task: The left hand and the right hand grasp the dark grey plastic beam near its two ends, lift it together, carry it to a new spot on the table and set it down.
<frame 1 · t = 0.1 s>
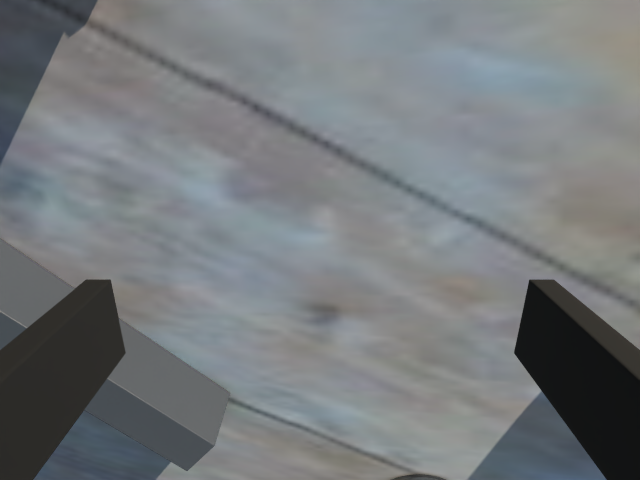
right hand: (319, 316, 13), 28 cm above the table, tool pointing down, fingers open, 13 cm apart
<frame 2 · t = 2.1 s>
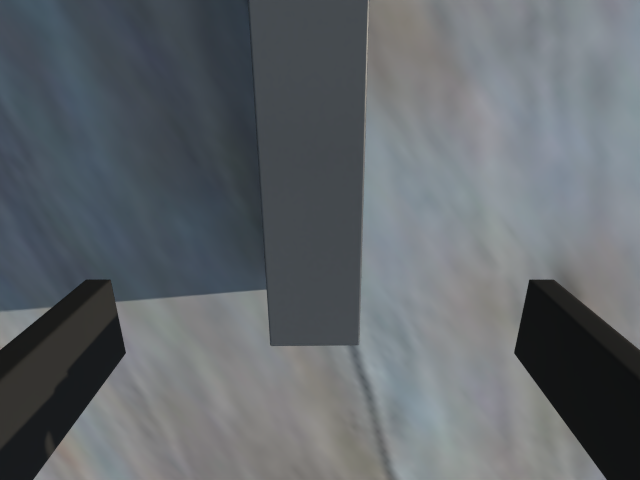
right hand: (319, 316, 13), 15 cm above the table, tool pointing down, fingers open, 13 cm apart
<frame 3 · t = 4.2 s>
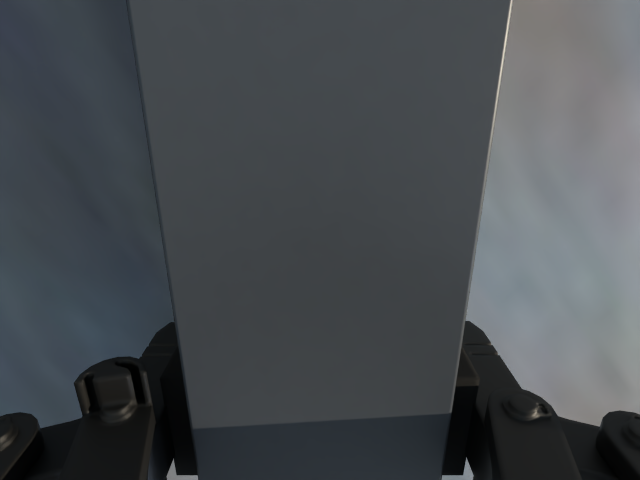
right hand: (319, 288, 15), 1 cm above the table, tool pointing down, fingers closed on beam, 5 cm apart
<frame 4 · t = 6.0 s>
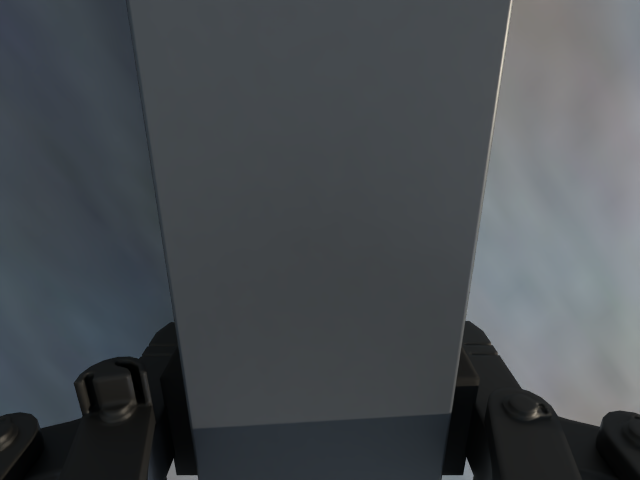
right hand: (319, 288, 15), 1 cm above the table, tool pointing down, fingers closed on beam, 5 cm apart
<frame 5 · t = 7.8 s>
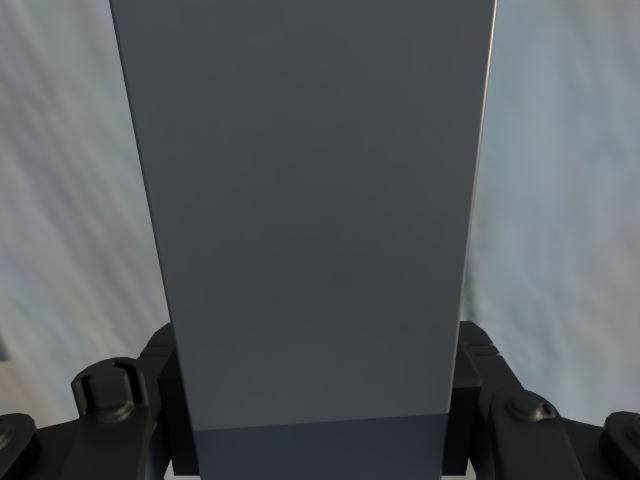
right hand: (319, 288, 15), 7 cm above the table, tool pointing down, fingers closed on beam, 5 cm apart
when the right hand's fingers open (2 cm above the table, at t = 9.4 s): beam drops 1 cm, on the table.
when the left hand's fingers open (4 cm above the table, at t = 9.6 s): beam stays where it is, on the table.
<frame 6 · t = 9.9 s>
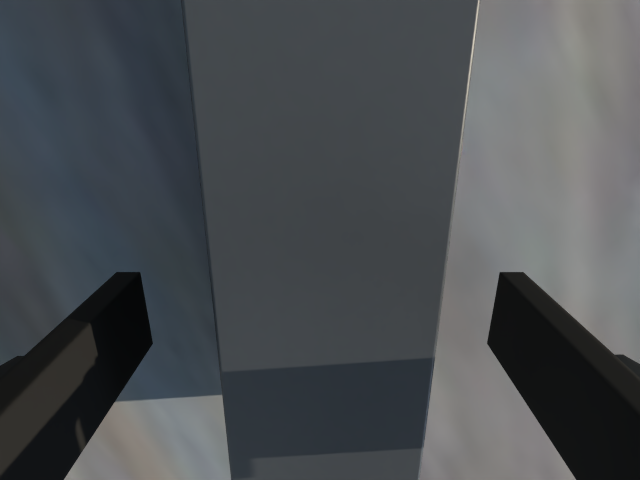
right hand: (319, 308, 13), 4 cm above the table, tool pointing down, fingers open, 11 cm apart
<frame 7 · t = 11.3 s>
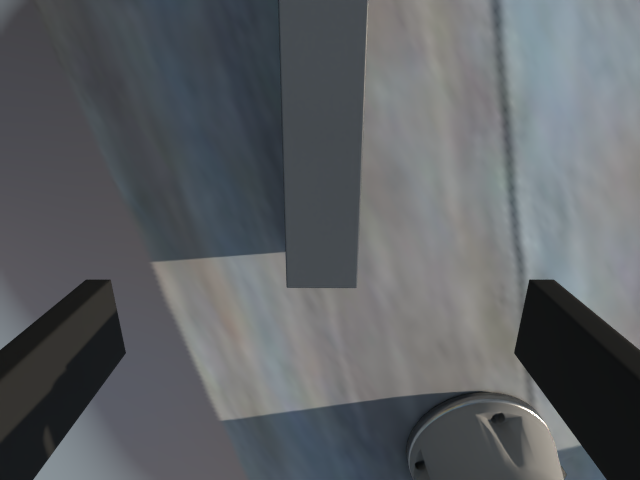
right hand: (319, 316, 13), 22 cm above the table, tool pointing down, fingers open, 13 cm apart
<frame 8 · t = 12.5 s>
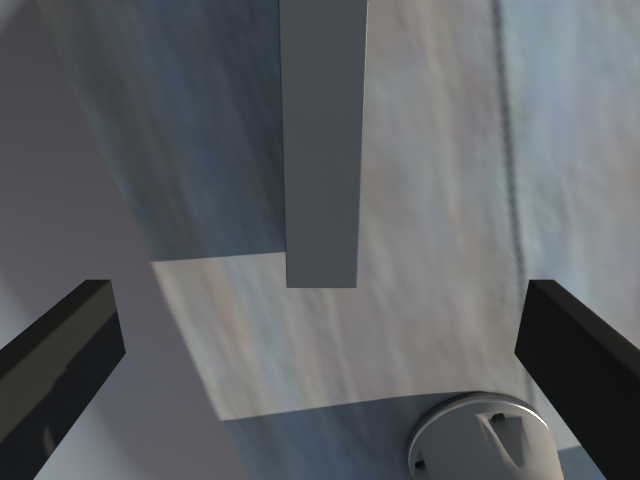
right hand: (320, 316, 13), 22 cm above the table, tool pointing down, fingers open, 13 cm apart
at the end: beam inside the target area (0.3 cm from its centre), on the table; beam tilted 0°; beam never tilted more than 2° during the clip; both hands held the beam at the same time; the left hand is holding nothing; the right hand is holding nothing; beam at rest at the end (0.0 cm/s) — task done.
